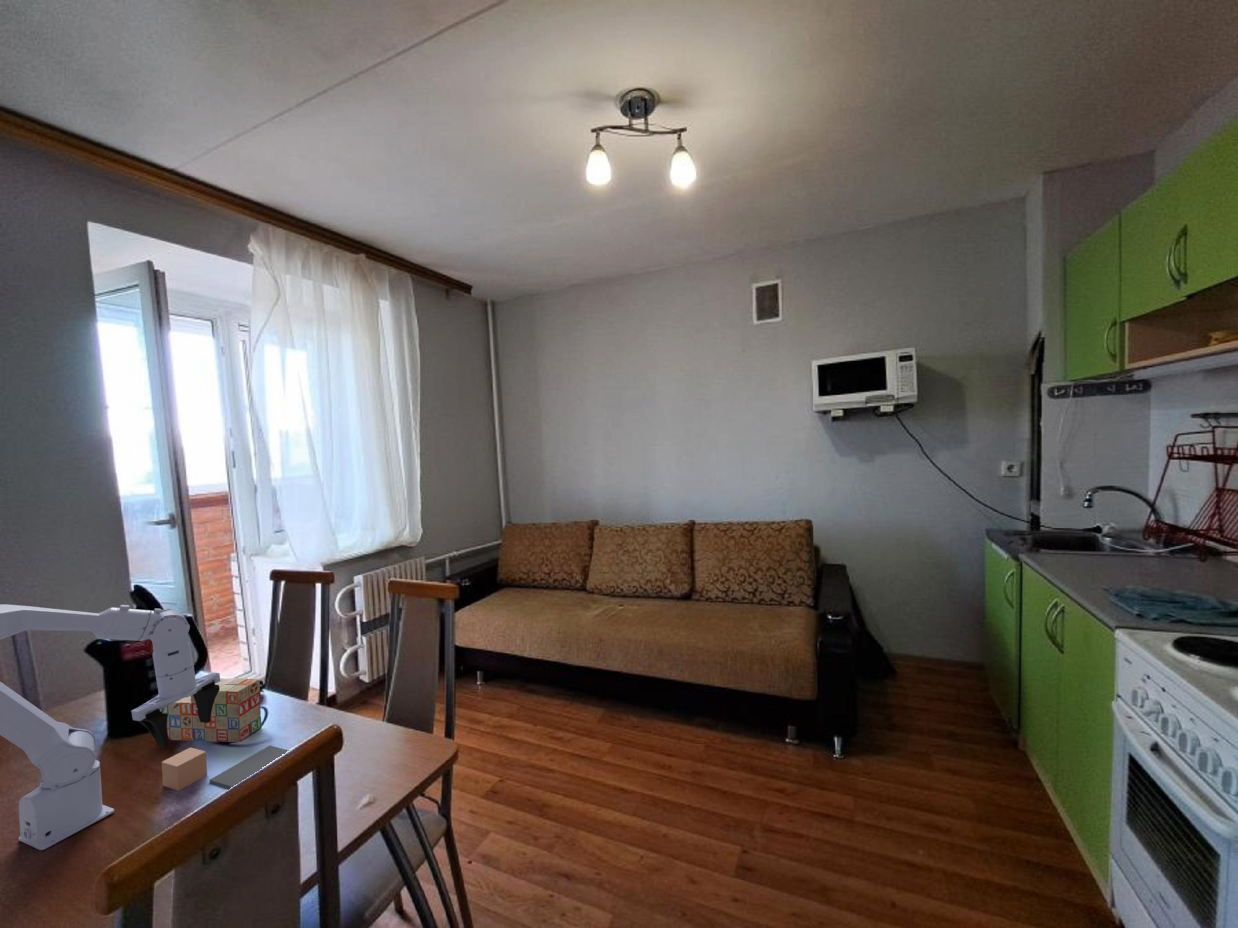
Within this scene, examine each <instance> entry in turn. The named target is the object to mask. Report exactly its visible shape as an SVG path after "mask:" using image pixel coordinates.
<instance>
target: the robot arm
mask: <svg viewBox="0 0 1238 928" xmlns="http://www.w3.org/2000/svg"><path fill="white" fill-rule="evenodd" d="M188 622H189V621H187V618H186V617H185V616H184V614H183V613H182V612H180V611H178V610H175V609H171V608H165V609H162V608H154V610H150V609H149V610H148V609H136V608H134V609H133V608H130V605H128V604H120V605H119V607H108V608H107V609H105V610H103V611H100V612H97V613H96V612H88V611H78V610H69V609H59V608H49V607H48V608H47V607H41V606H40V607H39V606H30V605H28V606H27V605H18V604H5V603H4V604H2V603H1V604H0V640H3V639H5V638H9V637H11V636H14V635H17V634H19V633H23V632H26V631H59V632H63V631H64V632H70V631H71V632H91V633H92V634H93V635H94V636H95V637H96V639H98V640H118V641H140V642H143V641H146V640H150V641H151V642H152V647H153V652H152V660H153V668H154V672H155V674H154V675H155V679H156V686H157V691H158V694H157V695H156V696H155V697H153V698H151V699H150V700H148V701H146V702H145V703H142V705H139V706H138V707H136V708H134V709H132V710H131V711H130V712H131V717H132V720H133V721H135V722H138V723H140V725H142V726H143V727H144V728H145V729H147V731H148V732H149V733H150V735H151V736H152V738H153V739H154V741H155V742H156V745H157V746H158V747H163V748H164V747H165V748H166V747H168V745H169V744H170V743H169V739H168V733H167V718H168V714H164V713H162V711H160V709H162V708H164V707H166V706H168V705H170V704H172V703H174V702H176V701H178V700H180V699H182V698H186V697H189V696H191V695H193V697H194V699H195V702H196V705H197V710H198V716H199V720H200V722H203V723H208V722H210V719H211V712H212V707H213V704H214V701H215V698H216V696H217V694H218V692H219V690H220V688H219V685H215V683H218V682H220V678H221V675H220V672H216V671H213V672H211V673H208V674H206V675H205V674H204V675H203V676H201V677H198V678H196V674H195V673H196V672H195V667H194V659H193V653H192V648H191V647H192V646H191V643H190V642H189V640H190V637H189V631H190V628H191V625H190V624H189V623H188ZM0 736H1V737H3V738H4V739H6V740H8V741H9V742H10V743H12V744H14V745H15V746H17V747H18V748H20V750H23V751H24V753H25V755H26V756H27V758H28V759H29V761H30V762H31V763H32V765H34V767H35V766H36V767H37V768H38V769H39V770H40V773H41V780H40V784H39V786H38V787H36V788H35V789H33V790H32V791H31V792H28V793H27V794H25V795H24V796H22V797H20V799H19V801H18V818H19V819H18V821H19V835H20V836H19V837H18V841H20V842H22V843H24V844H26V845H29V846H30V847H33V848H35V849H37V850H39V851H44V850H47V849H48V848H50V847H52V846H53V845H56V844H57V843H59V842H61V841H63V840H65V839H67V838H68V837H70V836H72V835H74V834H76V833H78V832H79V831H82V830H84V829H86V828H87V827H90V826H91V825H93V824H94V823H96V822H98V821H100V820H102V819H104V818H106V817H108V816H109V815H111V814H113V813H114V812H115V808H112V807H110V806H107V805H106V804H103V792H102V778H101V774H102V773H101V763H100V761H99V760H98V759H96V757H97V756H96V753H95V744H96V737H95V734H94V733H93V732H92V731H90V730H89V729H83V728H76V727H72V726H71V725H70V724H68V723H67V722H61V721H57V720H55V719H54V718H52V717H51V716H50V715H48V714H47V713H46V712H44V711H43V710H41V709H40V708H38V707H37V706H36V705H34V704H33V703H31V702H30V701H29V700H27V699H26V698H24V697H22V696H21V695H20V694H19V693H17V692H15V691H14V690H13V689H11V688H10V687H9V686H8V685H6V684H4V683H3V682H1V681H0Z"/></svg>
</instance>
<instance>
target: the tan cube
mask: <svg viewBox="0 0 1238 928" xmlns="http://www.w3.org/2000/svg"><path fill="white" fill-rule="evenodd" d="M207 769H208V768H207V752H206V751H205V750H202V749H198V748H195V747H194V748H193V747H189V748H187V749H185V750H183V751H181V752H179V753H176V754H174V755H172V756H171V757H169V758H166V759H165V760H163V761H161V772H162V773H161V774H162V786H163V787H166V788H168V789H169V788H170V789H172V790H175V791H177V792H179V791H180V790H182V789H184V788H186V787H188V786H190V785H192V784H193V783H195V782H197V781H199V780H200V779H202V778H204V777H206V776H207V775H208V770H207Z"/></svg>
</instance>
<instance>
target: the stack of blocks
mask: <svg viewBox="0 0 1238 928" xmlns="http://www.w3.org/2000/svg"><path fill="white" fill-rule="evenodd" d="M260 683H261V681H260V679H258V678H257V679H255V678H247V677H246V678H243V677H240V678H239V677H236V678H235V677H234V678H232V677H230V678H229V677H228V678H221V677H220V682H218V683H215V685H219V688H220V690H219V692H218V694H217V696H216V698H215V701H214V704H213V707H212V712H211V719H210V722H208V723H203V722H200V720H199V716H198V710H197V705H196V702H195V699H194V697H193V695H191V696H189V697H186V698H182V699H180V700H178V701H176V702H174V703H172V704H170V705H168V706H166V707H164V708H162V709H160V711H162V713H164V714H168V718H167V733H168V739H169V740H170V741H188V742H189V741H191V742H192V741H197V742H198V741H199V742H205V741H206V742H222V743H226V742H227V743H228V742H229V743H240V742H242V741H244V740H246V738H249V736H251V735H252V734H254V733H255V732H257V731H258V730H259V729H261V728H262V715H261V713H262V711H261V710H262V709H261V703H262V702H261V686H260V685H261V684H260Z"/></svg>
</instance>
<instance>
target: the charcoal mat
mask: <svg viewBox="0 0 1238 928" xmlns="http://www.w3.org/2000/svg"><path fill="white" fill-rule="evenodd" d="M287 751H289V749H285V748H282V747H277V746H274V745H268V746H266V747H264V748H263V749H261V750H259V751H258V752H256V753H254V754H252V755H250V756H248V757H247V758H245V759H244V760H242V761H240V762H238V763H236V764H235V765H233V766H231V767H229V768H228V769H226V770H224V771H222V772H221V773H219V774H217V775H215V776H213V777H211V778H210V779H209V783H210V784H213V785H217V786H219V787H221V788H222V787H223V788H226V789H229V790H231V789H230V788H231V787H233V786H234V785H236V784H238V783H239V782H241V781H242V780H244V779H246V778H247V777H249V776H250V775H252V774H254V773H255V772H257V771H259V770H260V769H262V767H264V766H266V765H267V764H269V763H270V762H272V761H273V760H275V759H276V758H278V757H280V756H282V754H285V753H286V752H287Z"/></svg>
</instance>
